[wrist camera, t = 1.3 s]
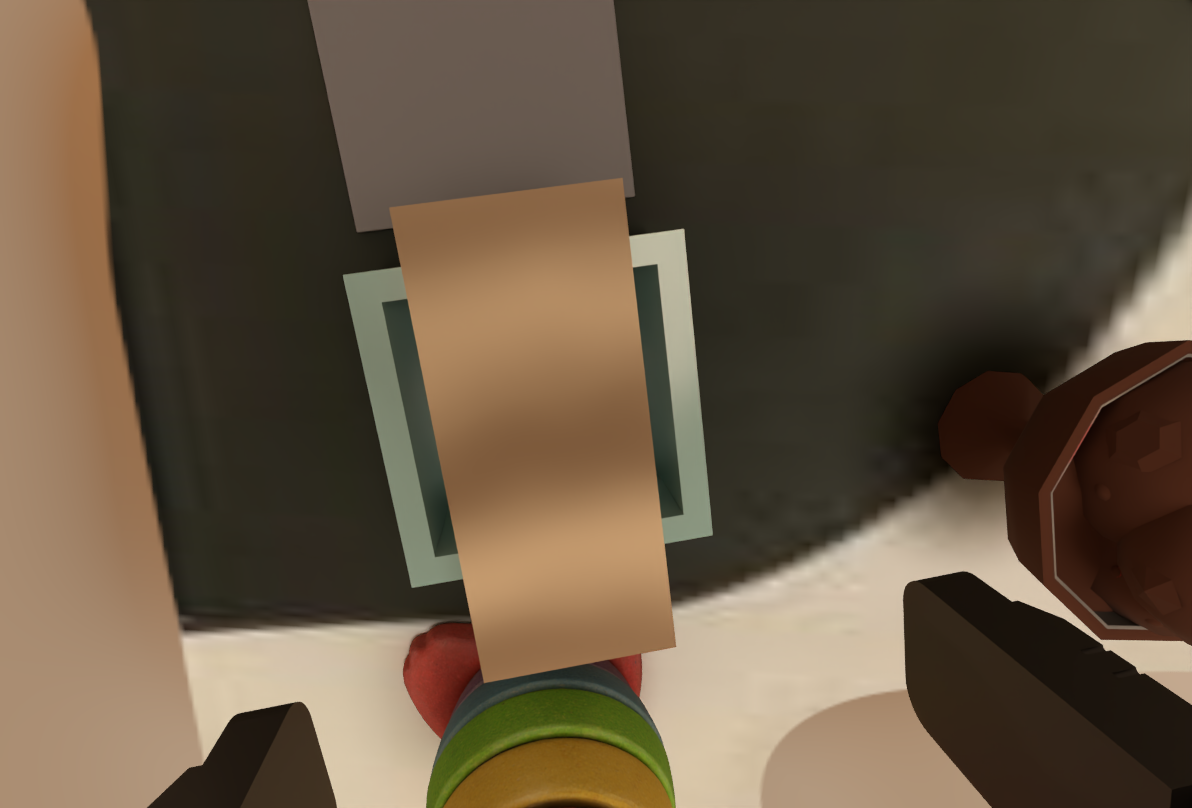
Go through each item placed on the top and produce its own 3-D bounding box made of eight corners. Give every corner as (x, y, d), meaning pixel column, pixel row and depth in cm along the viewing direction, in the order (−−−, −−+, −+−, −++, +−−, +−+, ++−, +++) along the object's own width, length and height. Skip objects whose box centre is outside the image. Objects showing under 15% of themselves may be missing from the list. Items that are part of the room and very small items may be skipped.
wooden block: (413, 215, 20) (388, 207, 16) (602, 191, 21) (622, 178, 17) (489, 612, 24) (484, 683, 20) (650, 583, 24) (676, 646, 20)
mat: (286, -118, 23) (280, -127, 22) (594, -144, 24) (596, -154, 23) (360, 232, 26) (356, 232, 25) (632, 197, 27) (635, 196, 26)
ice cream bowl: (1068, 534, 33) (1497, 756, 19) (862, 525, 32) (1153, 760, 17) (1124, 324, 31) (1665, 392, 16) (905, 305, 29) (1284, 360, 15)
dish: (381, 269, 26) (342, 274, 21) (648, 233, 27) (683, 229, 21) (433, 520, 29) (412, 587, 23) (674, 479, 30) (712, 535, 24)
